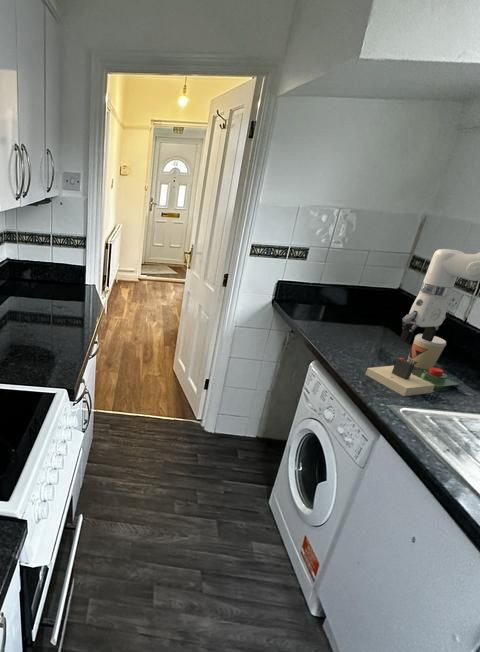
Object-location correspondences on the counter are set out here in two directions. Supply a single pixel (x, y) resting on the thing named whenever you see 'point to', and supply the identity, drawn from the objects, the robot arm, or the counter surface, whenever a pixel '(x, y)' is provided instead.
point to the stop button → (436, 371)
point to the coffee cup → (425, 352)
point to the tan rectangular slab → (400, 381)
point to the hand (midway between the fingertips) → (415, 341)
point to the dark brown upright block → (403, 368)
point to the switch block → (436, 380)
